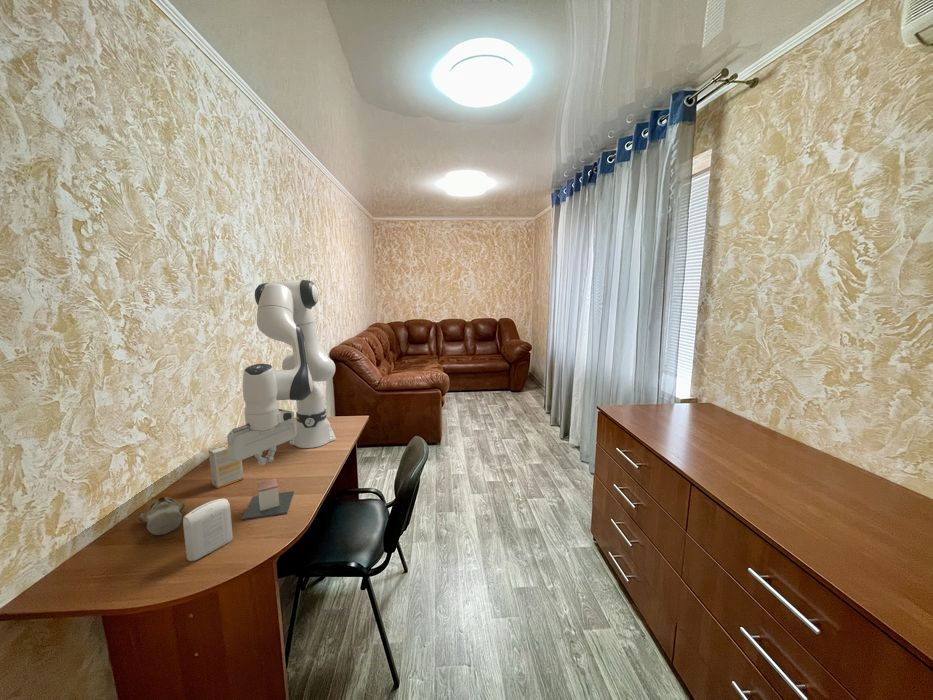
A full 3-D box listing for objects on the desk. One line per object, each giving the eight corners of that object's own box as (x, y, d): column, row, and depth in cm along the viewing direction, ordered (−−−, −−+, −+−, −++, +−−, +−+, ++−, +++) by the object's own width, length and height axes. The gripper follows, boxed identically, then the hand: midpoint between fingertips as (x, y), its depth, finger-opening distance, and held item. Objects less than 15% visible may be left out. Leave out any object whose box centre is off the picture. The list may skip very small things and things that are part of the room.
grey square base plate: (253, 497, 117) (251, 480, 116) (294, 492, 120) (292, 475, 119) (241, 520, 105) (239, 501, 104) (287, 513, 109) (285, 495, 108)
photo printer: (227, 534, 99) (222, 492, 97) (236, 539, 97) (231, 496, 95) (183, 558, 90) (177, 512, 88) (192, 564, 88) (187, 517, 86)
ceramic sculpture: (137, 515, 93) (134, 494, 103) (141, 547, 94) (138, 523, 104) (188, 499, 100) (181, 482, 111) (192, 529, 101) (184, 509, 112)
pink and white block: (259, 502, 113) (257, 482, 112) (277, 497, 116) (276, 478, 115) (260, 510, 109) (258, 490, 108) (279, 505, 112) (278, 485, 111)
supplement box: (237, 475, 131) (234, 440, 129) (244, 479, 128) (240, 444, 126) (211, 484, 124) (207, 448, 122) (217, 489, 121) (213, 452, 119)
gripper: (234, 432, 98) (238, 480, 100) (298, 411, 116) (301, 452, 118) (219, 428, 100) (224, 475, 102) (285, 408, 118) (287, 448, 121)
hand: (266, 462), depth 110 cm, fingers closed
